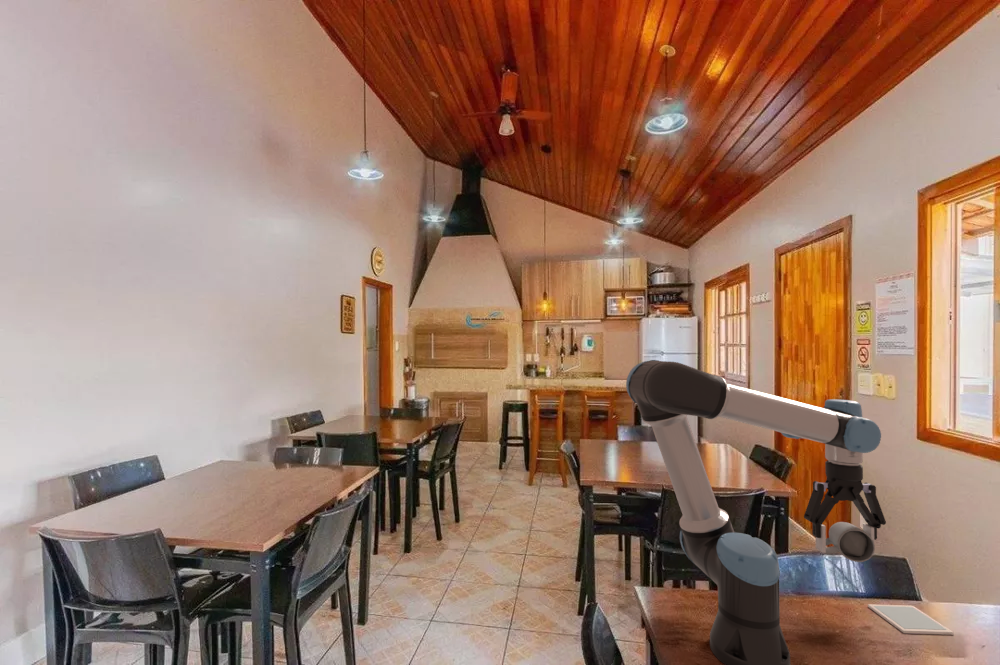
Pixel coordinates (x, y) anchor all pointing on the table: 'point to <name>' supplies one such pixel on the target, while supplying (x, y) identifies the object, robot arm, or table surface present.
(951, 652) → the table surface
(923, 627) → the plate
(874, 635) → the table surface
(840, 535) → the ceramic mug
